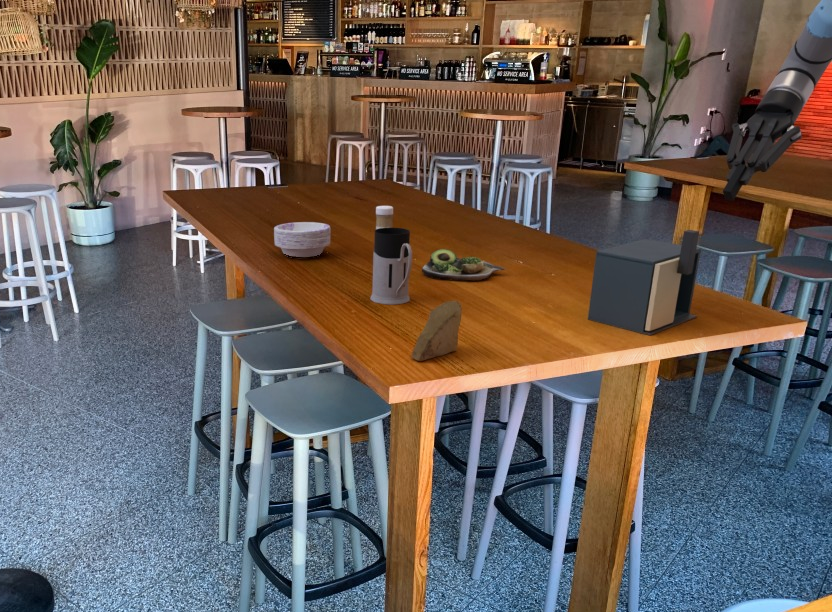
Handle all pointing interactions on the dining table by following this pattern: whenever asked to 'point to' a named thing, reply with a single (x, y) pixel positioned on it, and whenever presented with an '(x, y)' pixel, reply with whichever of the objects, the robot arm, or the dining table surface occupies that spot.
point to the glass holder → (391, 266)
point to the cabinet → (636, 285)
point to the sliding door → (670, 283)
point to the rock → (439, 332)
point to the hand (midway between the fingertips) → (727, 195)
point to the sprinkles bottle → (384, 217)
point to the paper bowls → (302, 238)
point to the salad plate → (457, 267)
